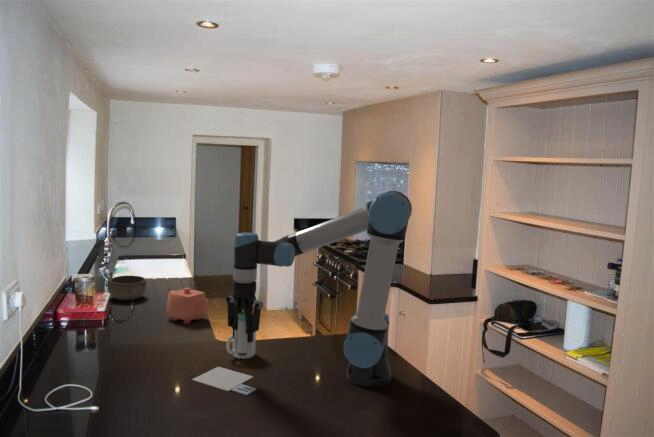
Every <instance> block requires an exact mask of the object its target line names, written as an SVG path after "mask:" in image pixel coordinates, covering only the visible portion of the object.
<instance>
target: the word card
mask: <svg viewBox="0 0 654 437" xmlns="http://www.w3.org/2000/svg"><path fill="white" fill-rule="evenodd" d="M230 391H232V392H234V393H237V394H240V395H244V396H248V395H250V394H252V393H253V392H255V391H257V388H256V387H253V386H249V385H247V384H244V383H242V384H240V385H239V386H237V387H235V388H233V389H232V390H230Z"/></svg>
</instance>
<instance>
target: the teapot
mask: <svg viewBox="0 0 654 437" xmlns="http://www.w3.org/2000/svg"><path fill="white" fill-rule="evenodd" d="M167 294H168V296H167V303H166V314H167V315H166V316H168V317H170V318H172V319H171V320H172V321H175V322H176V321H179V320H182V321H183V324H188V325H189V324H190V323H191V321H194V320H196V321H197V320H202V317H205V316H206V314H207V303H208V301H209V299H208V298H206V293H205V291H204V292H203V291H200V290H195V289H191V287H184V288H181V289H178V290H169V291H168V293H167Z"/></svg>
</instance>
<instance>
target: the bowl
mask: <svg viewBox="0 0 654 437" xmlns="http://www.w3.org/2000/svg"><path fill="white" fill-rule="evenodd" d="M146 288H147V281H146V278H145V277H143V276H140V275H120V276H119V275H118V276H115V277H112V278H110V279H109V281H108V290H109V293H110V294H111V296H112V297H113V298H114V299H115V300H118V301H123V302H124V301H133V300H137V299H140V298H141V297H142V296H143V295H144V293H145V292H146Z"/></svg>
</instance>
